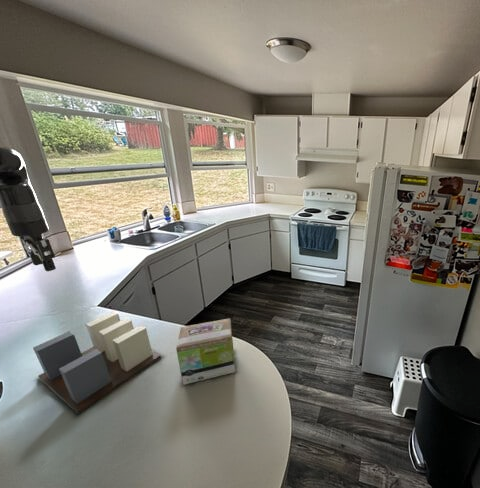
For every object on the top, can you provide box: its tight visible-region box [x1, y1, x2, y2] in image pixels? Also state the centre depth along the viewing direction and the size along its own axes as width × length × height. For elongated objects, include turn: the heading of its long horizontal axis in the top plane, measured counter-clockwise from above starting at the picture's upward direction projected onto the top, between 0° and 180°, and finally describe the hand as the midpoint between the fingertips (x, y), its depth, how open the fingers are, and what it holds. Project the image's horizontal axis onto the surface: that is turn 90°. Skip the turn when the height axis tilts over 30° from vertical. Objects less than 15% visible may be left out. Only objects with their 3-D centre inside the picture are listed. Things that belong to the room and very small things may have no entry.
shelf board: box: [37, 346, 162, 415], centre depth 80 cm, size 22×24×1 cm
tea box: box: [175, 318, 236, 386], centre depth 79 cm, size 15×10×15 cm, turn 111°
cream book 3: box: [112, 325, 153, 372], centre depth 80 cm, size 8×3×11 cm, turn 154°
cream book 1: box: [85, 311, 121, 352], centre depth 86 cm, size 8×3×11 cm, turn 154°
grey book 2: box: [59, 349, 111, 404], centre depth 70 cm, size 8×3×11 cm, turn 154°
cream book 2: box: [99, 317, 135, 362], centre depth 83 cm, size 8×3×11 cm, turn 154°
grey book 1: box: [32, 331, 82, 380], centre depth 76 cm, size 8×3×11 cm, turn 154°
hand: (44, 267), depth 80 cm, fingers open, 8 cm apart
